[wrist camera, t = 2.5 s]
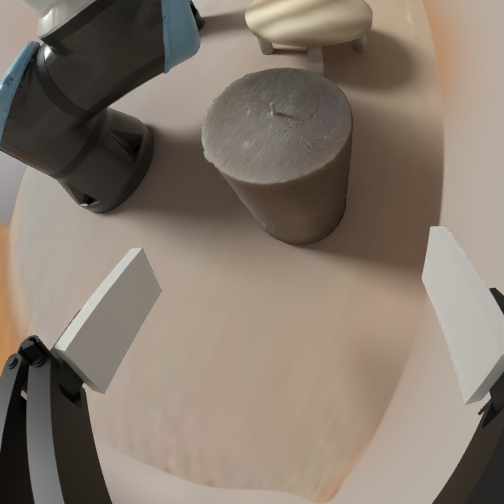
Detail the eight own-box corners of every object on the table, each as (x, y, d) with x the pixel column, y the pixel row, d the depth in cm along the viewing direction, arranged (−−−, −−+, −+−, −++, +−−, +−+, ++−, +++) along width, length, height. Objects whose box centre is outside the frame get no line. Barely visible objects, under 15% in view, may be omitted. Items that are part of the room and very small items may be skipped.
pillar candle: (364, 204, 26) (390, 105, 12) (291, 265, 27) (252, 211, 13) (303, 144, 30) (279, 38, 15) (235, 197, 30) (166, 112, 16)
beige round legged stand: (236, 55, 35) (220, 18, 28) (309, 14, 35) (302, -21, 27) (320, 101, 30) (314, 53, 23) (391, 50, 29) (395, 10, 22)
